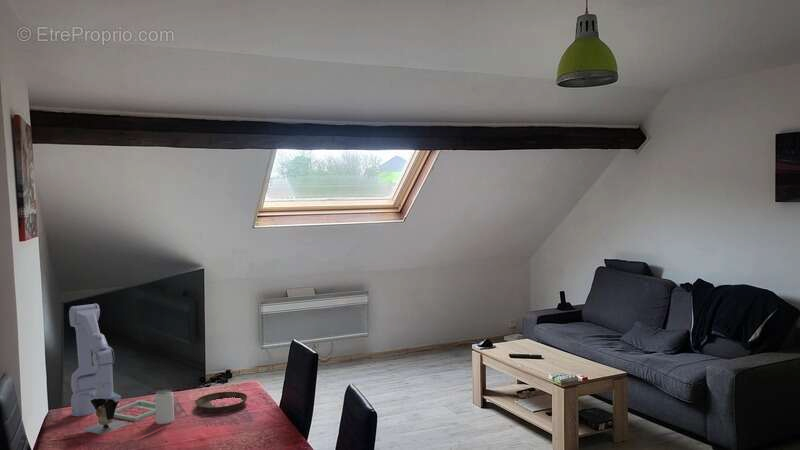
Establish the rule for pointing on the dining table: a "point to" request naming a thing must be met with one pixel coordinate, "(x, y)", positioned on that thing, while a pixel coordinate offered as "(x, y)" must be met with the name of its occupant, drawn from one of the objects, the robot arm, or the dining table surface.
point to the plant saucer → (205, 400)
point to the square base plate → (105, 427)
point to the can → (164, 406)
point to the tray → (136, 404)
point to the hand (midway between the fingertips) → (105, 418)
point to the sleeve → (103, 415)
